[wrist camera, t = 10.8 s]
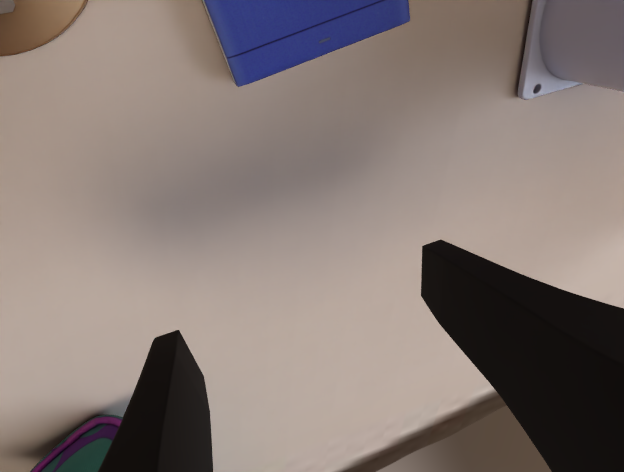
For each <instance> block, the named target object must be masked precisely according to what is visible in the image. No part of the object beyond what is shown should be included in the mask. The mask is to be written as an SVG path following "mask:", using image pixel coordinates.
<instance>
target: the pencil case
mask: <svg viewBox="0 0 624 472" xmlns="http://www.w3.org/2000/svg"><path fill="white" fill-rule="evenodd" d="M122 419H123V418H122V417H119V416H115V415H101V416H97V417H94V418H92V419H91V420H89V421H87V422H86V423H84V424H83V425H81V426H80V427H79V428H77V429H76V430H75V431H73V432H72V433H71V434H70V435H68V436H67V437H66V438H65V439H64V440H63V441H62V442H60V443H59V444H58V445H57V446H56V447H55V448H54V449H52V450H51V451H50V452H49V453H48V454H47V455H46V456H45V457H44V458H43V459H42V460H40V462H39V463H38V464H37V465H36V466H35V467H34V468H33V469H32V470H31V471H30V472H98V470H99V468H100V466H101V464H102V462H103V460H104V457H105V455H106V453H107V451H108V449H109V447H110V445H111V443H112V441H113V439H114V436H115V434H116V432H117V430H118V428H119V426H120V423H121V421H122Z"/></svg>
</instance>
